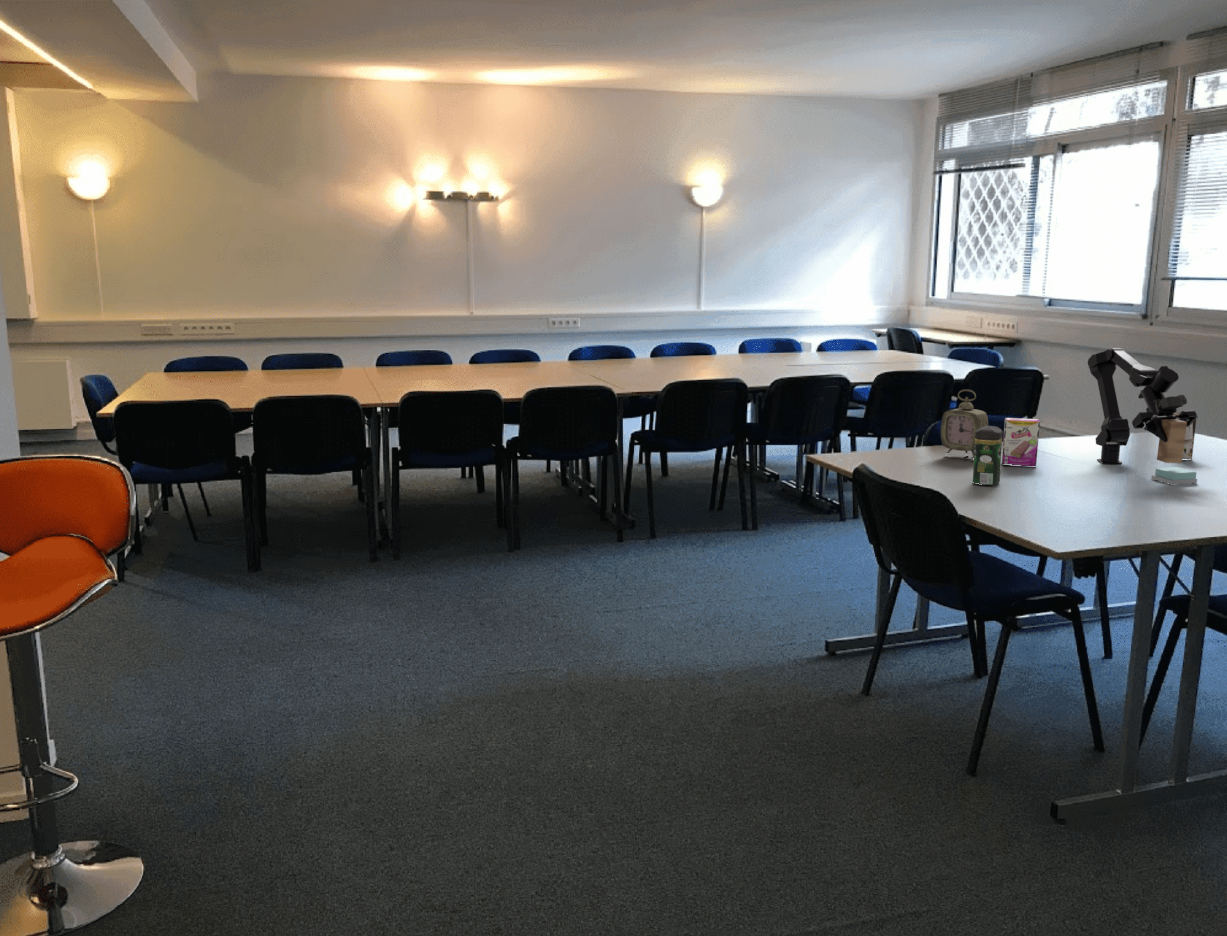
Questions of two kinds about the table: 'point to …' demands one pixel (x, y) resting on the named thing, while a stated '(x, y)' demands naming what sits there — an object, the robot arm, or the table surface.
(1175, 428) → the walnut pillar
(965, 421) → the tabletop clock
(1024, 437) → the candy bar box
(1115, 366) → the robot arm
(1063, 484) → the table surface
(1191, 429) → the coffee box
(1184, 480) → the tower base block
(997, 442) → the coffee jar
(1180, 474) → the tower top block
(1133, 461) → the table surface
